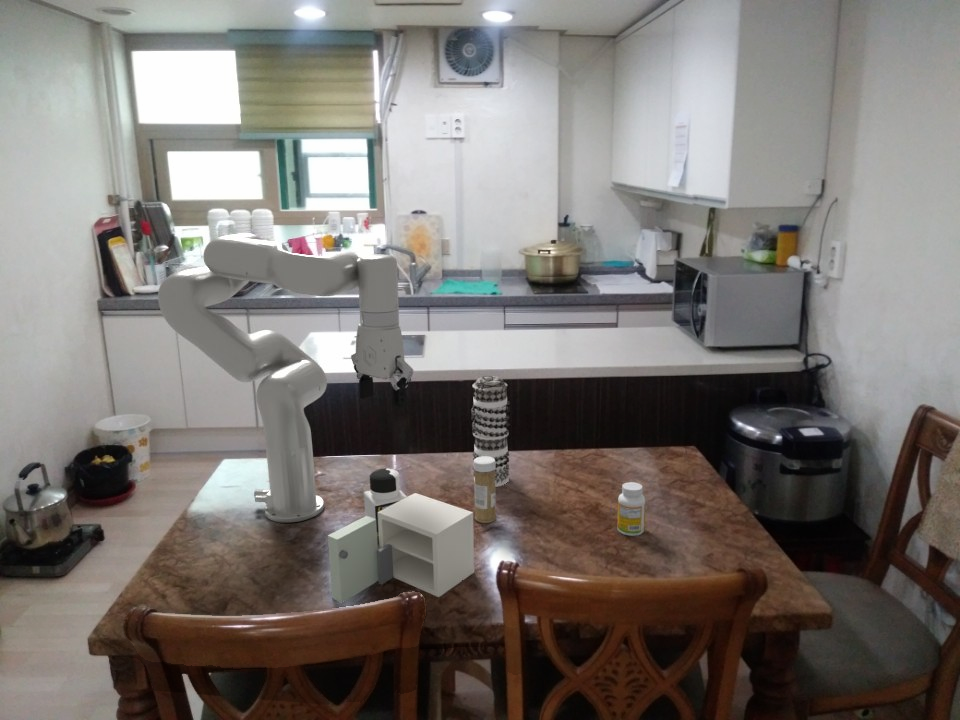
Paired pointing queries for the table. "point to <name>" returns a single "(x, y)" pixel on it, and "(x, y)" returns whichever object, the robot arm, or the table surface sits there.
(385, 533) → the cabinet
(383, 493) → the medicine bottle
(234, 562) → the table surface
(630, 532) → the supplement bottle
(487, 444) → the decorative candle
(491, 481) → the spice jar
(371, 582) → the door
